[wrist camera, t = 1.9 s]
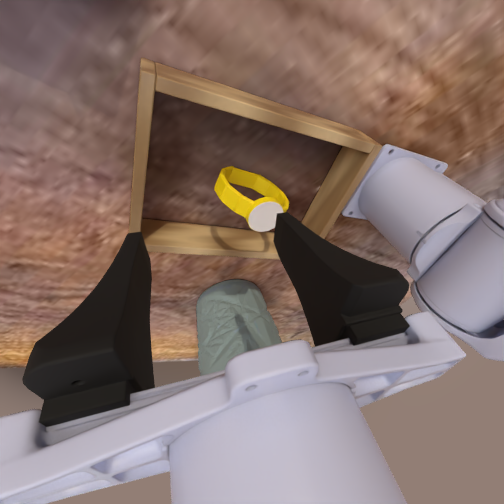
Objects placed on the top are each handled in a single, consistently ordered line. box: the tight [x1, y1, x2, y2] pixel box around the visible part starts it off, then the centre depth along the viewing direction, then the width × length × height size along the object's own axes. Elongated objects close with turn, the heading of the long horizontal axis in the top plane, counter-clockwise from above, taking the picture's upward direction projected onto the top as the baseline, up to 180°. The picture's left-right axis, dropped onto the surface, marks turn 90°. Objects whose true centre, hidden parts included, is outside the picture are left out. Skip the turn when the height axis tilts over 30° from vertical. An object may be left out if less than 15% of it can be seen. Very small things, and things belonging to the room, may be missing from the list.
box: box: [129, 58, 382, 259], centre depth 23 cm, size 18×13×4 cm
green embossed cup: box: [196, 279, 282, 376], centre depth 31 cm, size 10×10×12 cm
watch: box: [214, 166, 289, 232], centre depth 22 cm, size 6×3×6 cm, turn 63°
